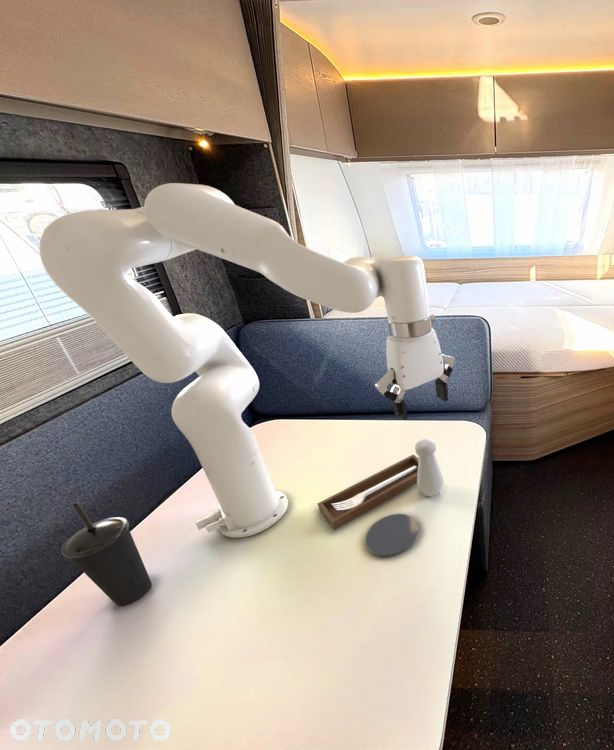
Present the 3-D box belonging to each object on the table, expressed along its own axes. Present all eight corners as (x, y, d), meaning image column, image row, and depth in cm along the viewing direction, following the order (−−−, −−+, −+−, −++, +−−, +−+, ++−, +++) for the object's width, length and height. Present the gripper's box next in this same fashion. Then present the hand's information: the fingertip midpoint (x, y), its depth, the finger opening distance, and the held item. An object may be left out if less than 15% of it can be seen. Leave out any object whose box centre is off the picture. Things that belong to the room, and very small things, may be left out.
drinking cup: (94, 622, 62) (24, 531, 53) (115, 583, 68) (55, 495, 59) (153, 603, 64) (95, 513, 56) (167, 566, 71) (118, 481, 62)
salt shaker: (439, 501, 83) (432, 452, 78) (414, 498, 84) (406, 449, 79) (447, 483, 89) (442, 436, 83) (424, 480, 90) (417, 433, 84)
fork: (420, 471, 92) (419, 465, 91) (338, 517, 79) (336, 510, 79) (413, 465, 94) (412, 459, 93) (332, 509, 82) (330, 502, 81)
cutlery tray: (333, 530, 77) (331, 522, 76) (319, 510, 82) (317, 503, 81) (431, 474, 92) (430, 467, 91) (414, 460, 97) (413, 454, 96)
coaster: (382, 566, 69) (381, 564, 69) (357, 535, 76) (356, 533, 75) (428, 535, 75) (428, 532, 75) (402, 508, 82) (401, 506, 82)
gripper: (437, 312, 78) (446, 387, 85) (356, 334, 68) (375, 418, 75) (460, 319, 73) (467, 398, 80) (377, 344, 63) (394, 432, 70)
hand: (423, 407), depth 78 cm, fingers open, 9 cm apart
